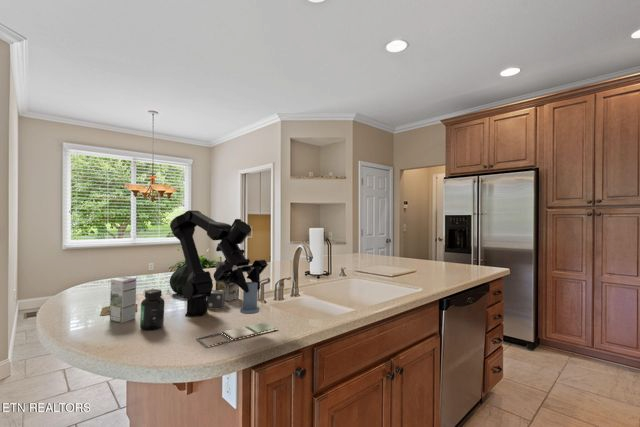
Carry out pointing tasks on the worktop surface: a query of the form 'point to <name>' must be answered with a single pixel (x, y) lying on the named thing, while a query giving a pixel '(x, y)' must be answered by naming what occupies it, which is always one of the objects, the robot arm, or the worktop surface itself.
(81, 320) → the worktop surface
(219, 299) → the die
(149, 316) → the supplement bottle
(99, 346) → the worktop surface
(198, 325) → the worktop surface
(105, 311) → the cookie
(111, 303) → the syrup box
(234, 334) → the game board
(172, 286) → the squash
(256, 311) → the blue flanged cylinder
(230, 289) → the coffee box
